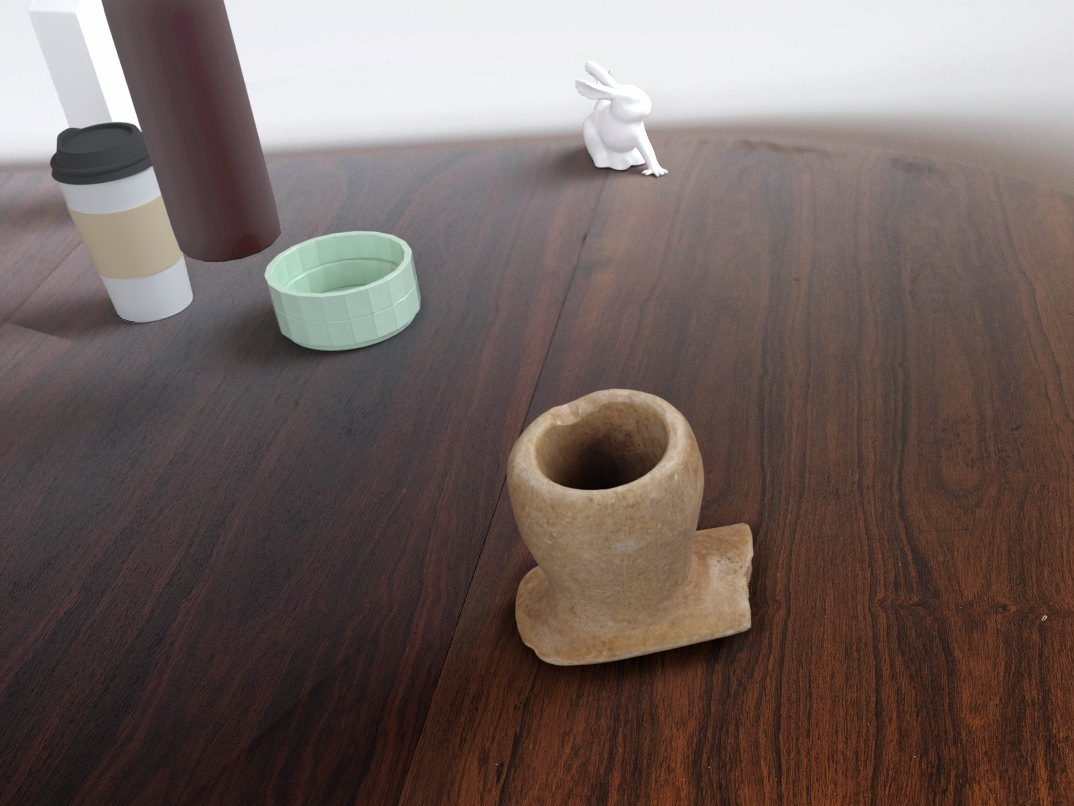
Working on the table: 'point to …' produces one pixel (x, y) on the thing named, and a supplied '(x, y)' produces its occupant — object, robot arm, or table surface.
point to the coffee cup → (122, 219)
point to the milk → (82, 61)
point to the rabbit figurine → (616, 123)
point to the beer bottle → (196, 124)
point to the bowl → (344, 290)
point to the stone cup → (621, 534)
